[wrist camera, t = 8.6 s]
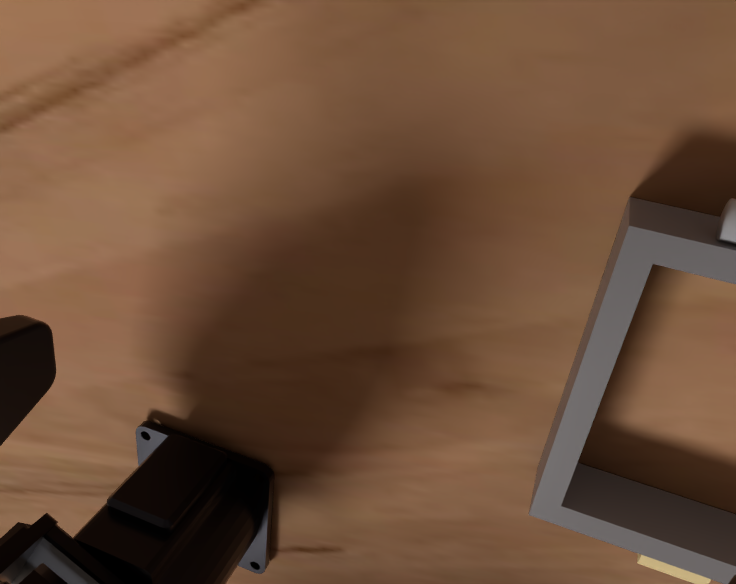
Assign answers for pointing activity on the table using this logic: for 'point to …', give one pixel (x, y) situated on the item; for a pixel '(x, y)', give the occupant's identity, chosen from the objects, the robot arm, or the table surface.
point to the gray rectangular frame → (586, 388)
